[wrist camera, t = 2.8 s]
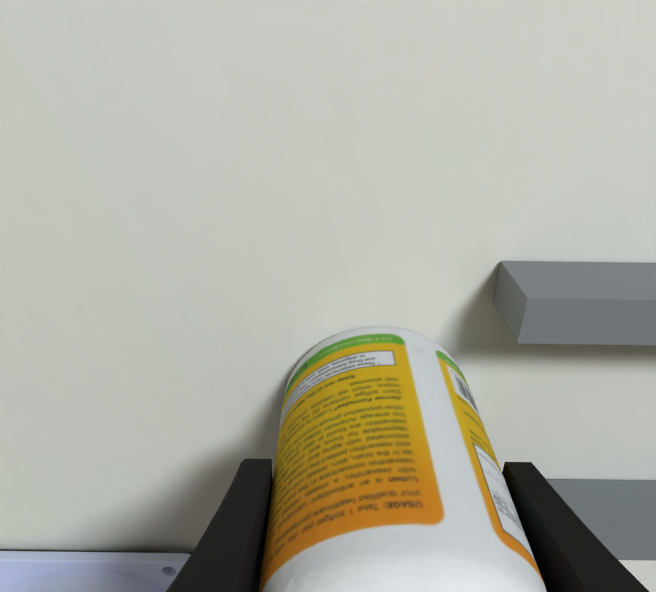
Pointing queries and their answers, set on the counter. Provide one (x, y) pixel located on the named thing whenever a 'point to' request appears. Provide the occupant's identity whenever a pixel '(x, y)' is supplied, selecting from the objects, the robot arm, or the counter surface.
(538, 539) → the robot arm
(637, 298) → the gray u-shaped bracket
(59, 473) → the counter surface
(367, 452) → the supplement bottle
